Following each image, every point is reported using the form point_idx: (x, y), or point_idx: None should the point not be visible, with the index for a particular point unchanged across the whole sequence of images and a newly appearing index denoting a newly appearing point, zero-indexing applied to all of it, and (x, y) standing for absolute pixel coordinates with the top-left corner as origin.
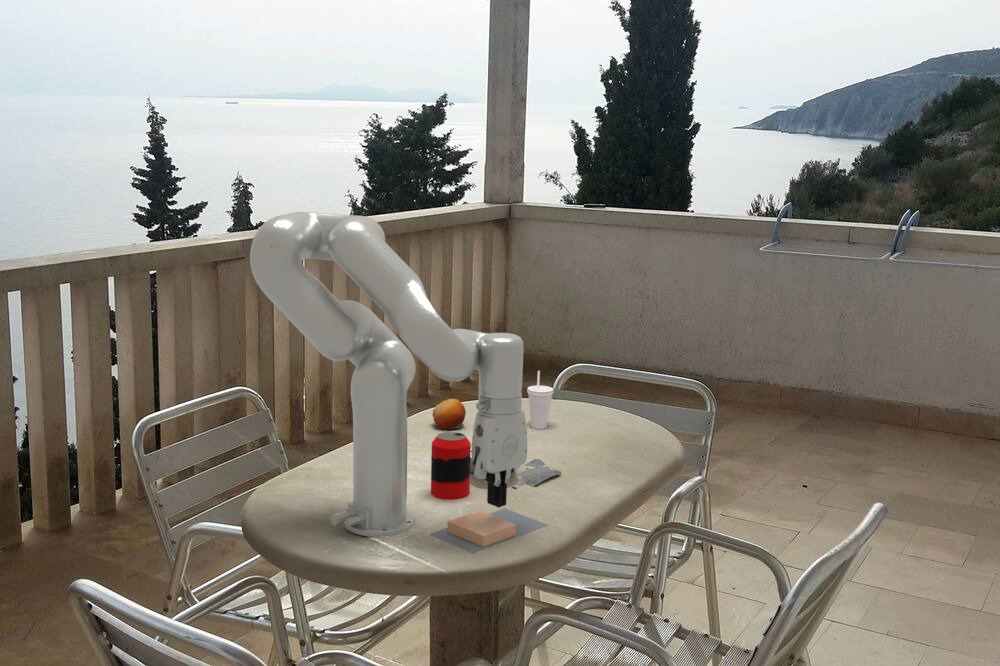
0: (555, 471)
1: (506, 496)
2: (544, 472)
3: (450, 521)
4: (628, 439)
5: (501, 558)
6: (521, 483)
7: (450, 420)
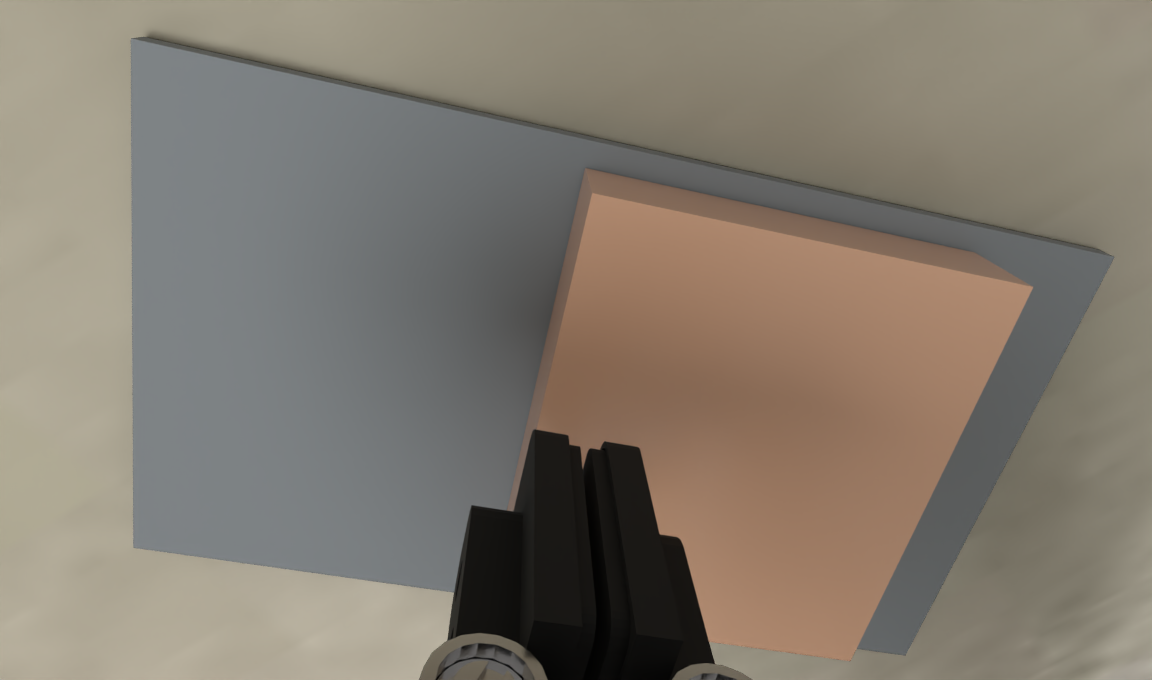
0: None
1: (535, 488)
2: None
3: (845, 645)
4: None
5: (1059, 21)
6: None
7: None
